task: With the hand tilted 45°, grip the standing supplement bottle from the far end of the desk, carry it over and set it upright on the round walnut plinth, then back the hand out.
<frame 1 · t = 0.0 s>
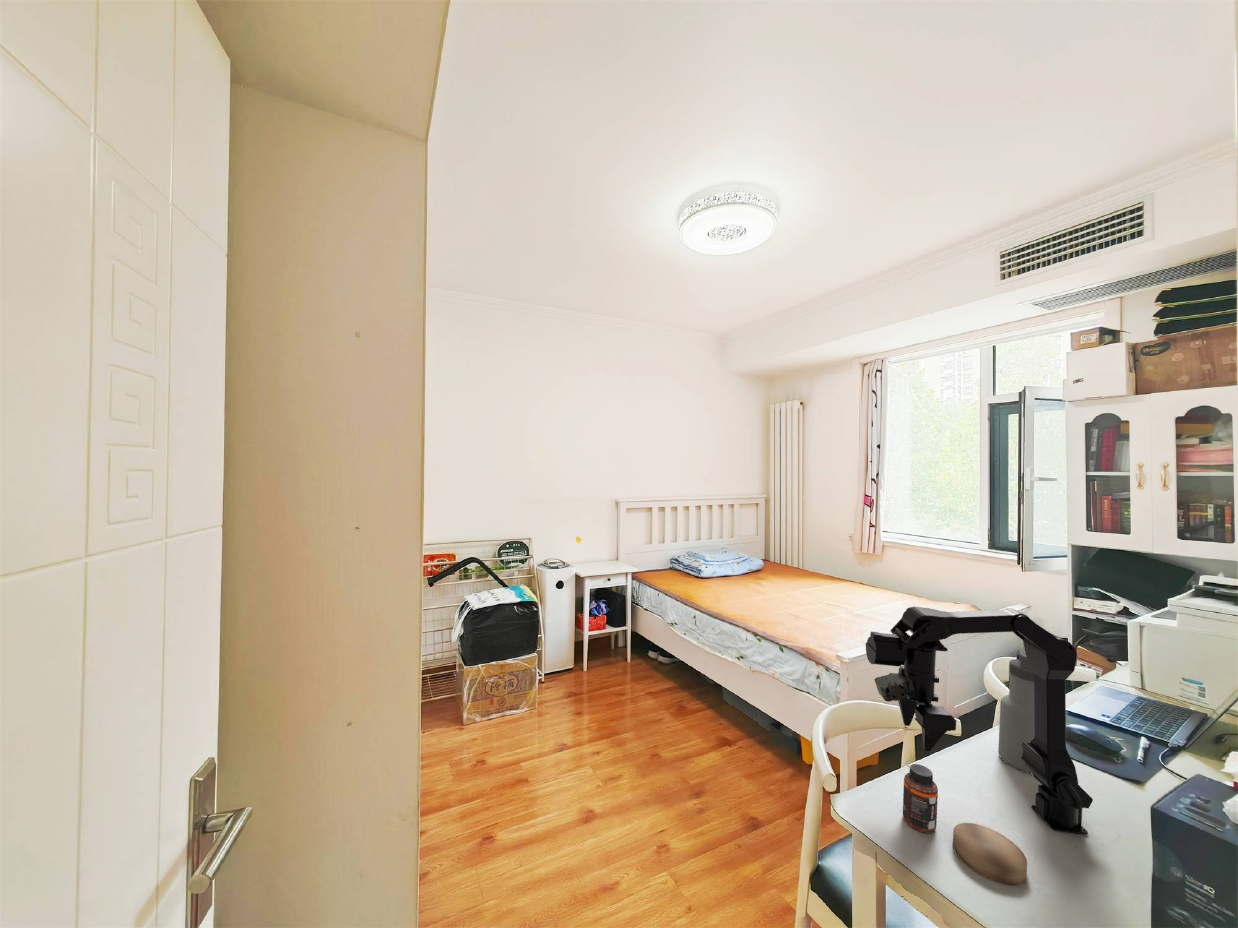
hand: (916, 737, 102), 15 cm above the table, tool pointing down, fingers open, 9 cm apart
supplement bottle: (919, 823, 97), on the table
water bottle: (1022, 763, 117), on the table
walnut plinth: (988, 858, 88), on the table
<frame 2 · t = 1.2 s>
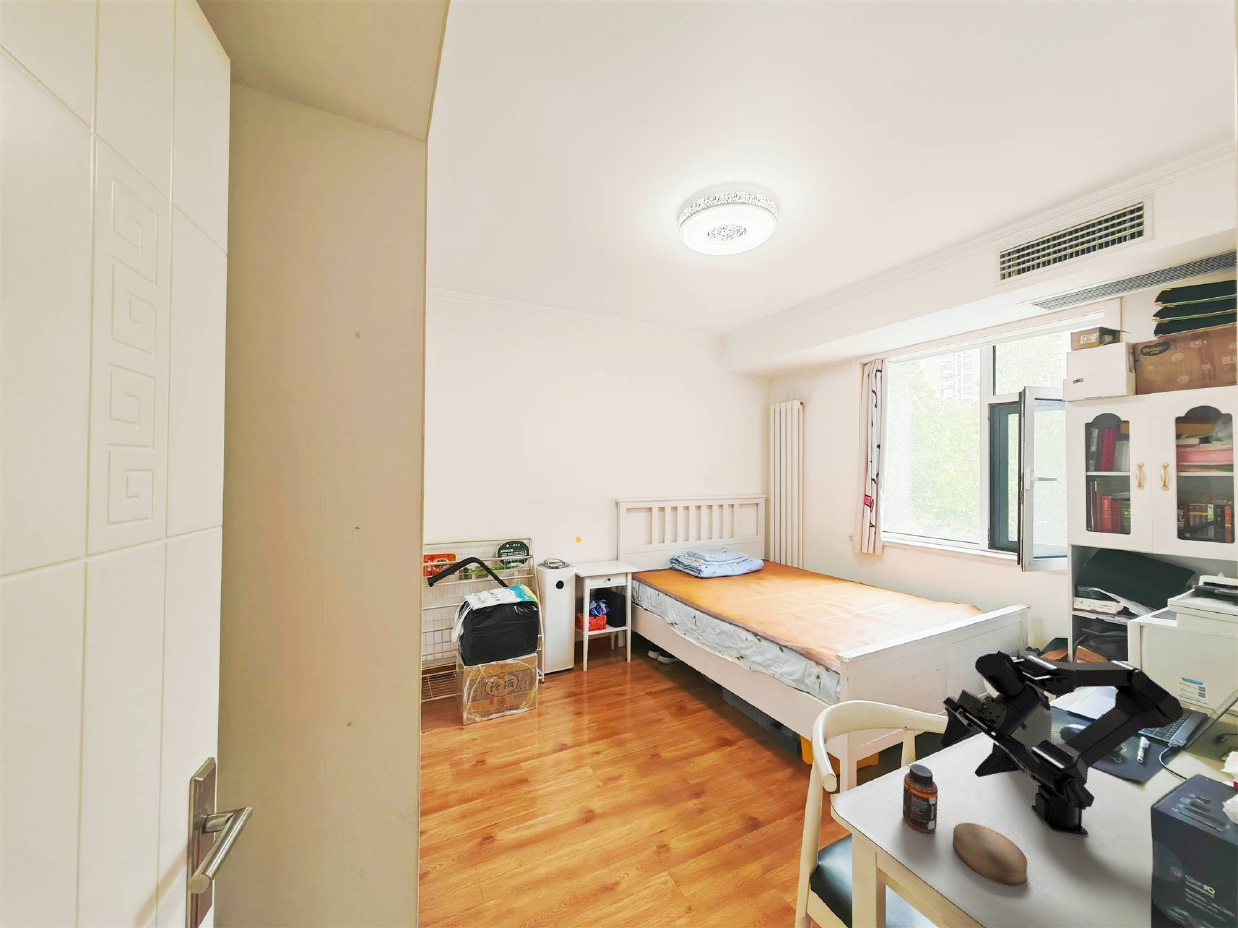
hand: (958, 759, 97), 13 cm above the table, tool tilted 45°, fingers open, 9 cm apart
nothing on the table moved.
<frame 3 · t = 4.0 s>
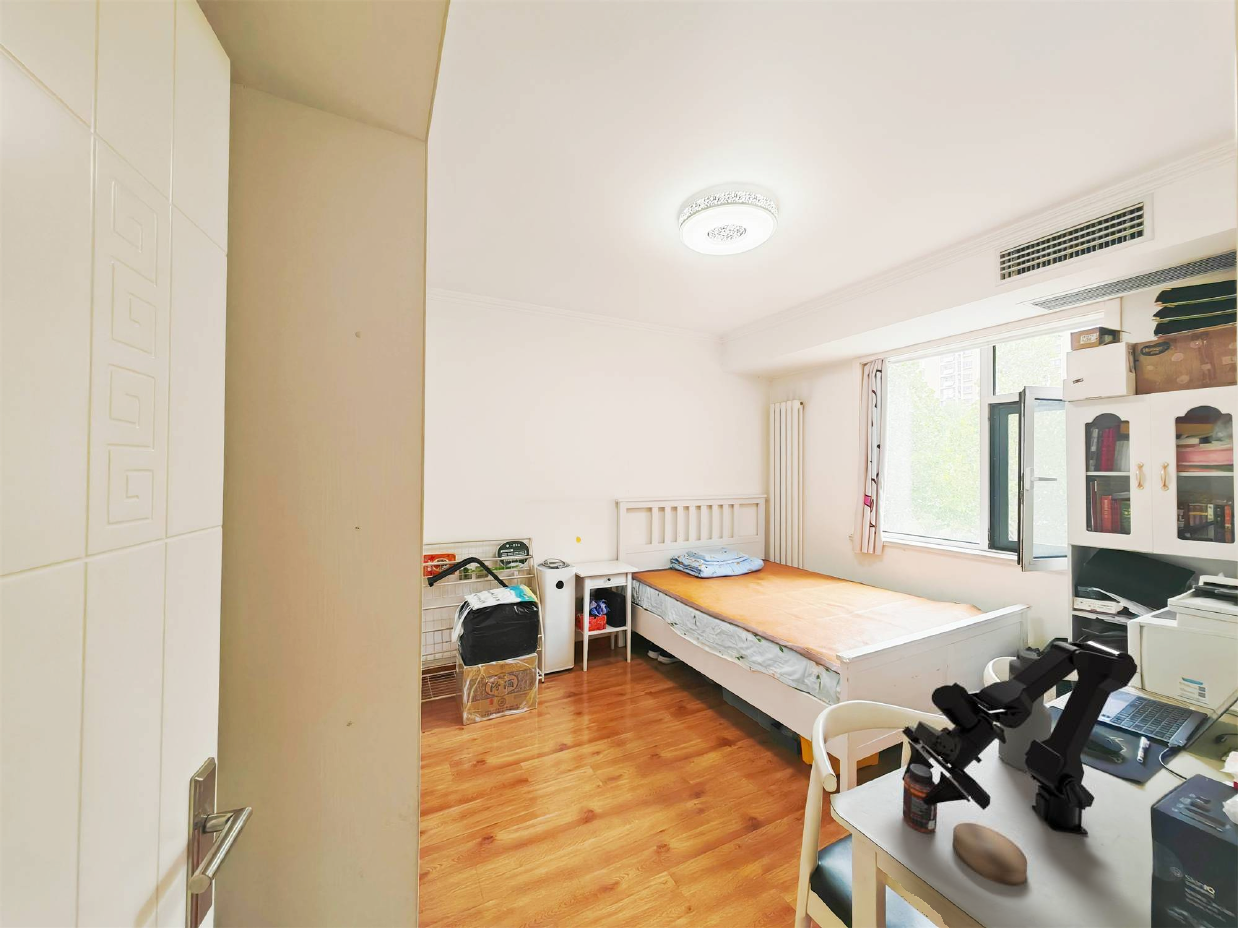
hand: (913, 791, 96), 7 cm above the table, tool tilted 45°, fingers closed on supplement bottle, 6 cm apart
supplement bottle: (919, 823, 97), on the table, touching gripper
everything else where it was.
when the fingers open (10 cm above the table, at t = 7.2 s): supplement bottle drops 1 cm, resting on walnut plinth.
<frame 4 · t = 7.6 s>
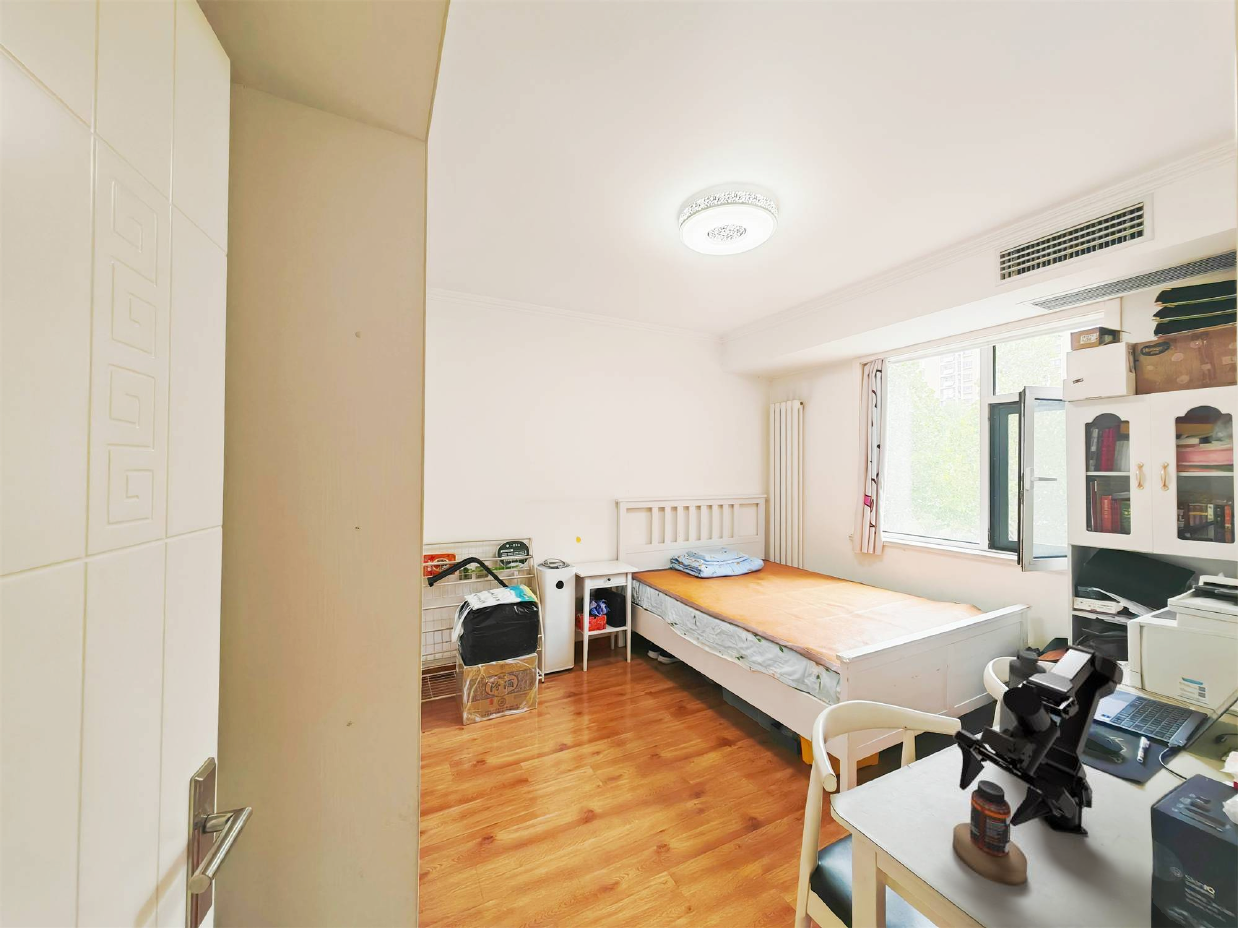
hand: (985, 805, 88), 11 cm above the table, tool tilted 45°, fingers open, 9 cm apart
supplement bottle: (989, 846, 88), point 2 cm above the table, touching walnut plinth
everything else where it was.
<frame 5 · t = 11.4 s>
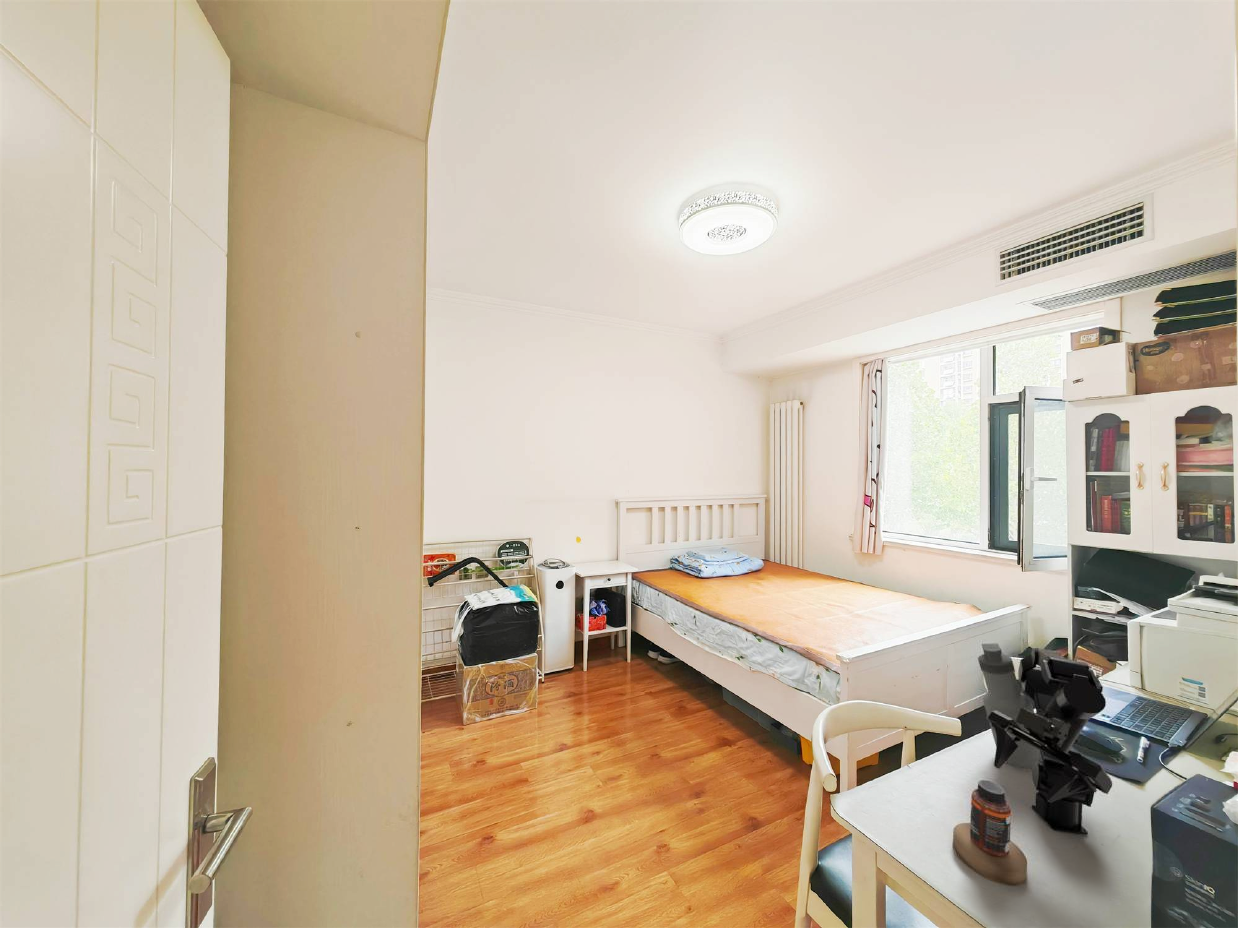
hand: (1020, 782, 90), 13 cm above the table, tool tilted 45°, fingers open, 9 cm apart
water bottle: (1023, 758, 117), point 1 cm above the table, touching arm
everything else where it was.
at the end: supplement bottle 0.1 cm off-centre on the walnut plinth, point 2.3 cm above the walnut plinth's base; supplement bottle tilted 1°; the gripper is holding nothing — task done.
